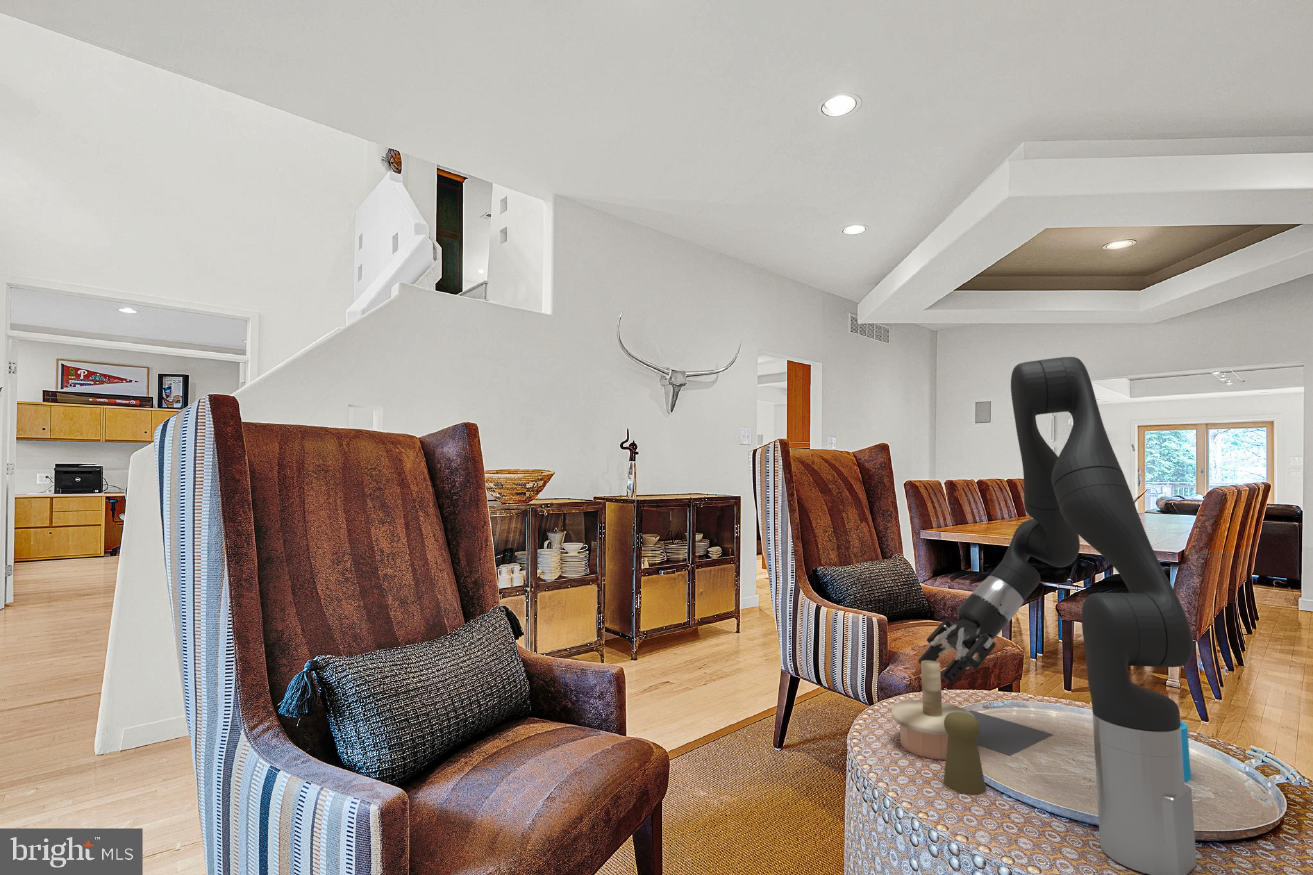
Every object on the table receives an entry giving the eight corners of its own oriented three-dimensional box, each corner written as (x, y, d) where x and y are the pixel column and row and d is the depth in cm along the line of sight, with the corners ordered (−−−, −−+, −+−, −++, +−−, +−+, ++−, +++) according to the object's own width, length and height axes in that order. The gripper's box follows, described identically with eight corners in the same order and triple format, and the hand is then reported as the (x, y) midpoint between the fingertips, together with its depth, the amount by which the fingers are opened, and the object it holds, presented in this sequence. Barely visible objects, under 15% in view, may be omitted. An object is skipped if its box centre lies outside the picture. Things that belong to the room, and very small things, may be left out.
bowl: (980, 751, 115) (978, 722, 115) (944, 767, 109) (943, 736, 109) (924, 732, 124) (923, 705, 124) (888, 745, 118) (887, 717, 118)
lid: (991, 723, 115) (988, 664, 115) (946, 741, 107) (944, 679, 108) (920, 701, 126) (918, 648, 127) (875, 717, 118) (873, 660, 119)
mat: (1053, 736, 121) (1053, 734, 121) (1010, 757, 112) (1009, 755, 112) (971, 712, 134) (971, 710, 134) (926, 729, 125) (926, 727, 125)
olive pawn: (976, 777, 105) (973, 708, 106) (992, 795, 99) (988, 722, 100) (938, 776, 105) (935, 707, 106) (951, 794, 99) (948, 721, 100)
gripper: (955, 586, 126) (900, 648, 124) (999, 599, 112) (938, 669, 110) (982, 613, 126) (928, 675, 124) (1029, 629, 112) (970, 699, 110)
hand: (933, 672), depth 117 cm, fingers open, 8 cm apart
